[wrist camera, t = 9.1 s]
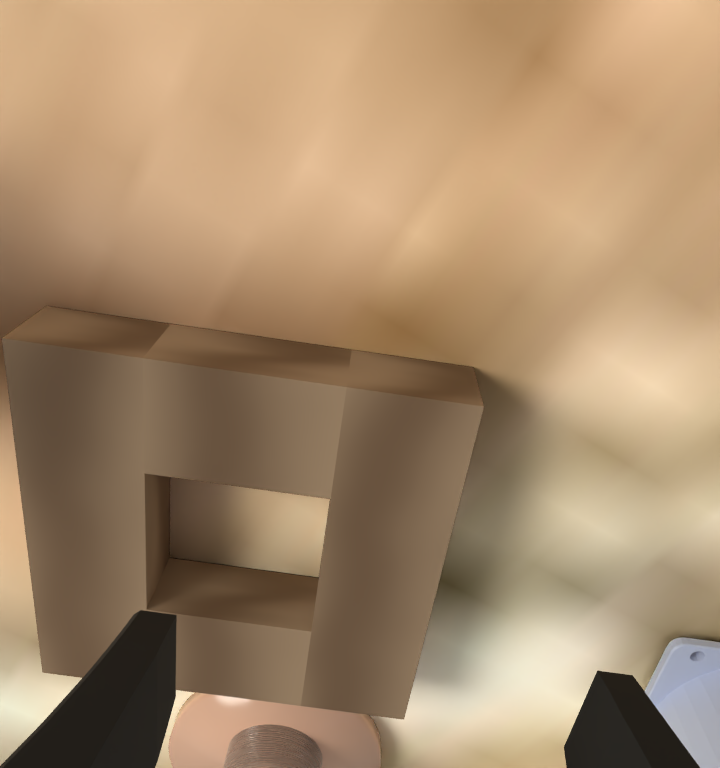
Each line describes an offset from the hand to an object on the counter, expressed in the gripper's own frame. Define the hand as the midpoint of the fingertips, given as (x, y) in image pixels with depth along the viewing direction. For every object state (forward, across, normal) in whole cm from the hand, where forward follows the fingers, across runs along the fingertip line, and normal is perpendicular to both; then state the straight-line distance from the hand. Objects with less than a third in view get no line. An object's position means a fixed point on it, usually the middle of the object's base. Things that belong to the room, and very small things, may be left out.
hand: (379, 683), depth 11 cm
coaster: (+10, +2, +18) cm, 20 cm away
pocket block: (+10, +4, +5) cm, 12 cm away
